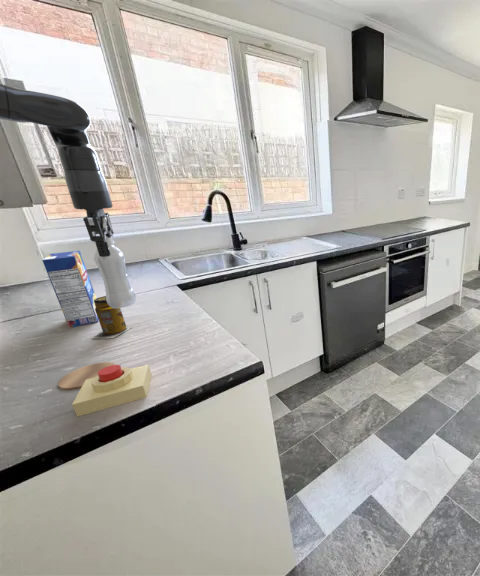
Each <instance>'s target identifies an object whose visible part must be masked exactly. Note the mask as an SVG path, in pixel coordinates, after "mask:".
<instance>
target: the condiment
mask: <svg viewBox="0 0 480 576" xmlns="http://www.w3.org/2000/svg"><path fill="white" fill-rule="evenodd" d="M94 303H95V306H96V308H95V311H96V314H97V317H98V319H99V320H98V322H99V325H100V328H101V332H99V333H97V334H96V335H94V336H91V339H99V340H102V339H104V340H105V339H114V338H116V337H119V335H122V334H123V333H125V332H127V331H128V330H131V329H132V328H133V327H134V325H129V326H127V324H126V321H125V317H124V315H123V312H122V308H112V307H110V306H109V305H108V303H107V301H106V295H104V296H99V297H96V299H95V300H94Z"/></svg>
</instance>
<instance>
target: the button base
mask: <svg viewBox="0 0 480 576" xmlns="http://www.w3.org/2000/svg"><path fill="white" fill-rule="evenodd" d="M121 369H122V372H123V375H122V376H120V377H119V378H117V379H115V380H112V381H108V382H101V381H100V379H99V376H96V377H94V378H90V379H86V380H85V382H84V384H83V386H82V388H79V391H78V393H77V395H76V397H75V398H74V400H73V402H72V403H71V405H72V408H73V410H74V413H75V414H76V417H82V416H84V415H89V414H92V413H94V412H95V413H96V412H99V411H102V410H106V409H109V408H112V407H117V406H120V405H124V404H127V403H130V402H134V401H137V400H141V399H145V398H147V397H148V393H149V389H150V384H151V380H152V376H153V374H152V372H151V368H150V365H149V364H145V365H144V364H143V365H141V366H140V365H139V366H137V367H132V368H130V367H127V366H126V367H125V366H124V367H123V366H121Z"/></svg>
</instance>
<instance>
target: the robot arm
mask: <svg viewBox="0 0 480 576" xmlns="http://www.w3.org/2000/svg"><path fill="white" fill-rule="evenodd" d="M0 120H5V121H9V122H13V123H14V122H15V123H24V124H26V123H27V124H28V123H29V124H30V123H31V124H35V125H41V126H45V127H47V130H48V131H49V134H50V137H51V138H52V141H53V143H54V145H55V146H56V149H57V152H58V153H57V154H58V156H59V160H60V163H61V166H62V170H63V174H64V180H65V183H66V187H67V190H68V193H69V196H70V199H71V203H72V206H73V208H74V209H75V210H85V211H86V212H85V213H86V216H85V217H83V222H84V225H85V227H86V230H87V234H88V236H89V240H90V241H91V242H93V243H95V246H96V250H98V253H99V256H101V257H105V256H110V255H111V254H110V250H109V247H108V243H107V238H106V237H112V238H113V237H114V234H115V232H114V229H113V225H112V222H111V218H110V214H109V212H105V209H111V208H113V202H112V198H111V195H110V191H109V188H108V184H107V181H106V178H105V176H104V174H103V171H102V168H101V164H100V160H99V158H98V154H97V152H96V150H95V149H94V148H93V147H92V145H91V144H90V141H89V137H88V133H87V129H89V128H90V125H91V116H90V114H89V113H88V111H87V110H86V109H85V108H84V106H82V105H81V104H80V103H77V102H75V101H74V100H71V99H69V98H66V97H63V96H58V95H54V94H49V93H45V92H40V91H33V90H27V89H22V88H17V87H14V86H11V85H8V84H3V83H1V82H0ZM113 239H114V238H113Z"/></svg>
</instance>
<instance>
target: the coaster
mask: <svg viewBox="0 0 480 576" xmlns="http://www.w3.org/2000/svg"><path fill="white" fill-rule="evenodd" d="M111 365H116V363H114V362H111V361H110V362H108V361H105V362H104V361H103V362H96V363H92V364H89V365H85V366H82V367H79V368H77V369H75V370H73V371H71V372H69V373H66V374H65V375H64V376H62V377H61V378H60V380H59V381H58V382H57V385H58V388H59V389H61V390H67V391H69V390H77V389H79V390H80V389H81V388H82V386H83V384H84V382H85V380H86V379H90V378H94V377H96V376H98V372H99V371H100V370H101V369H103V368H105V367H108V366H111Z"/></svg>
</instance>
